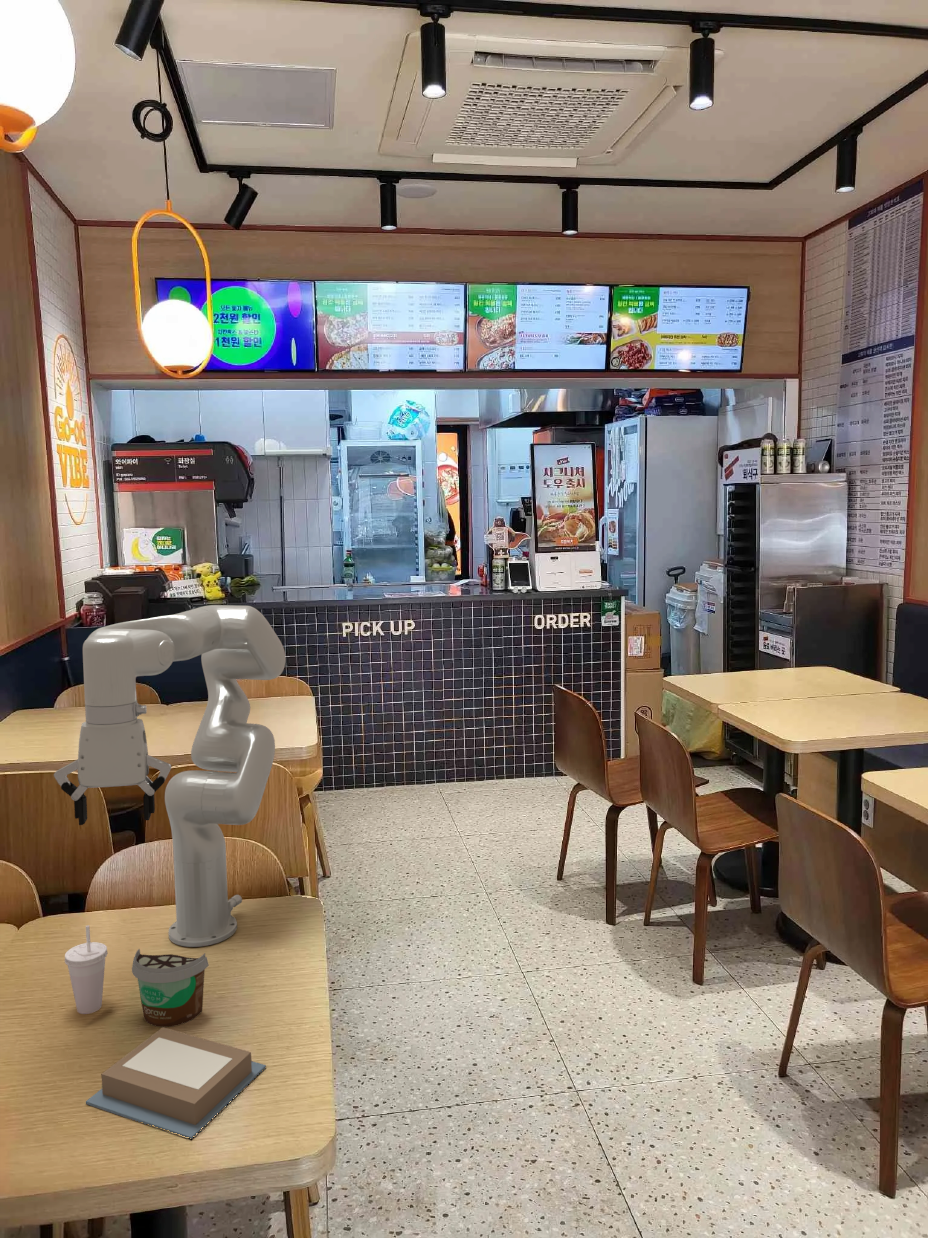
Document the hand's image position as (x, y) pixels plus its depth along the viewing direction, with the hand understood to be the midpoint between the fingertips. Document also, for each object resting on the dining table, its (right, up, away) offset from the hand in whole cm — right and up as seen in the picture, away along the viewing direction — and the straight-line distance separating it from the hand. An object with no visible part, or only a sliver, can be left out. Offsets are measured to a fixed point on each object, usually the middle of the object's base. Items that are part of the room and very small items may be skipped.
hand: (115, 820), depth 140 cm
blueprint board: (+15, -34, -16) cm, 40 cm away
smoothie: (-6, -32, +4) cm, 32 cm away
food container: (+8, -32, 0) cm, 33 cm away
